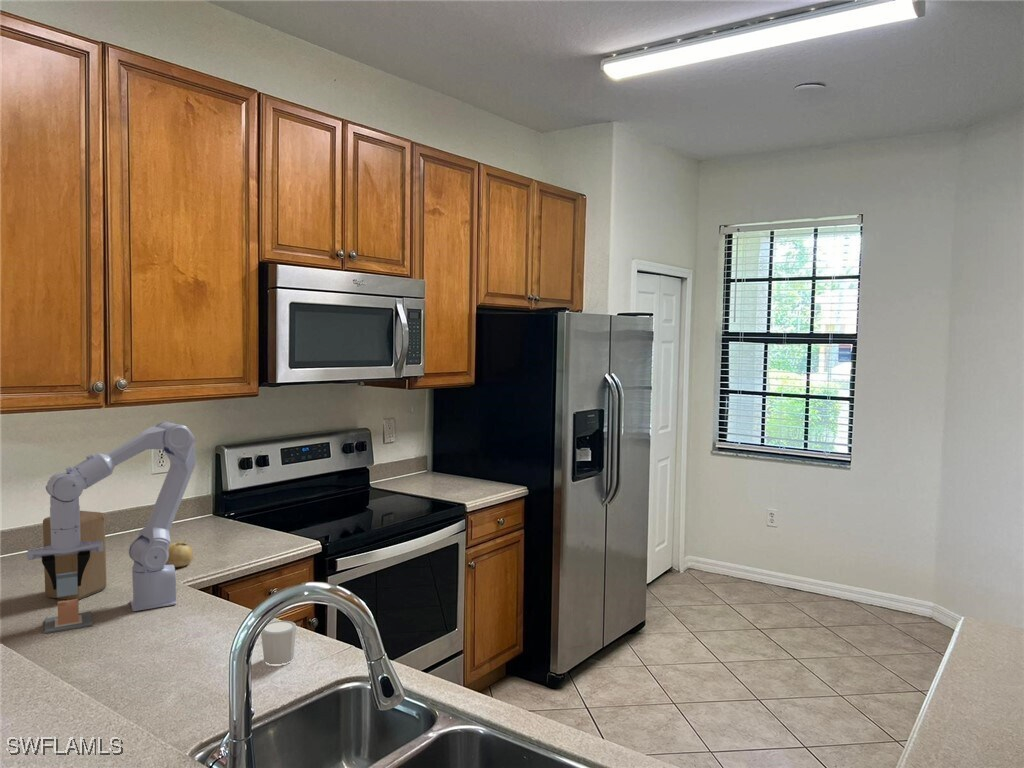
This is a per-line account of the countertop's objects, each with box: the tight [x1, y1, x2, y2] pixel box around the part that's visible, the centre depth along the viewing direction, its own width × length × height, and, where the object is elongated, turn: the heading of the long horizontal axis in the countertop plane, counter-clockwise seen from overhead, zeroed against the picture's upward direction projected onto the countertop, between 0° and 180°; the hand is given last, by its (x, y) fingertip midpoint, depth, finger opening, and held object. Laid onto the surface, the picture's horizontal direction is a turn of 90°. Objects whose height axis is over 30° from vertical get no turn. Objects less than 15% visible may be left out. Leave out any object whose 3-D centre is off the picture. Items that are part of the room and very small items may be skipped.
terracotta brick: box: [57, 599, 80, 625], centre depth 170 cm, size 4×4×4 cm
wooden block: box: [42, 510, 108, 601], centre depth 188 cm, size 10×10×20 cm
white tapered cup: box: [260, 620, 297, 664], centre depth 151 cm, size 7×7×7 cm
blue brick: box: [56, 572, 78, 597], centre depth 169 cm, size 4×4×4 cm
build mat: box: [44, 610, 93, 634], centre depth 170 cm, size 9×9×1 cm
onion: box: [165, 539, 194, 568], centre depth 211 cm, size 8×8×7 cm
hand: (67, 586), depth 169 cm, fingers closed on blue brick, 4 cm apart
